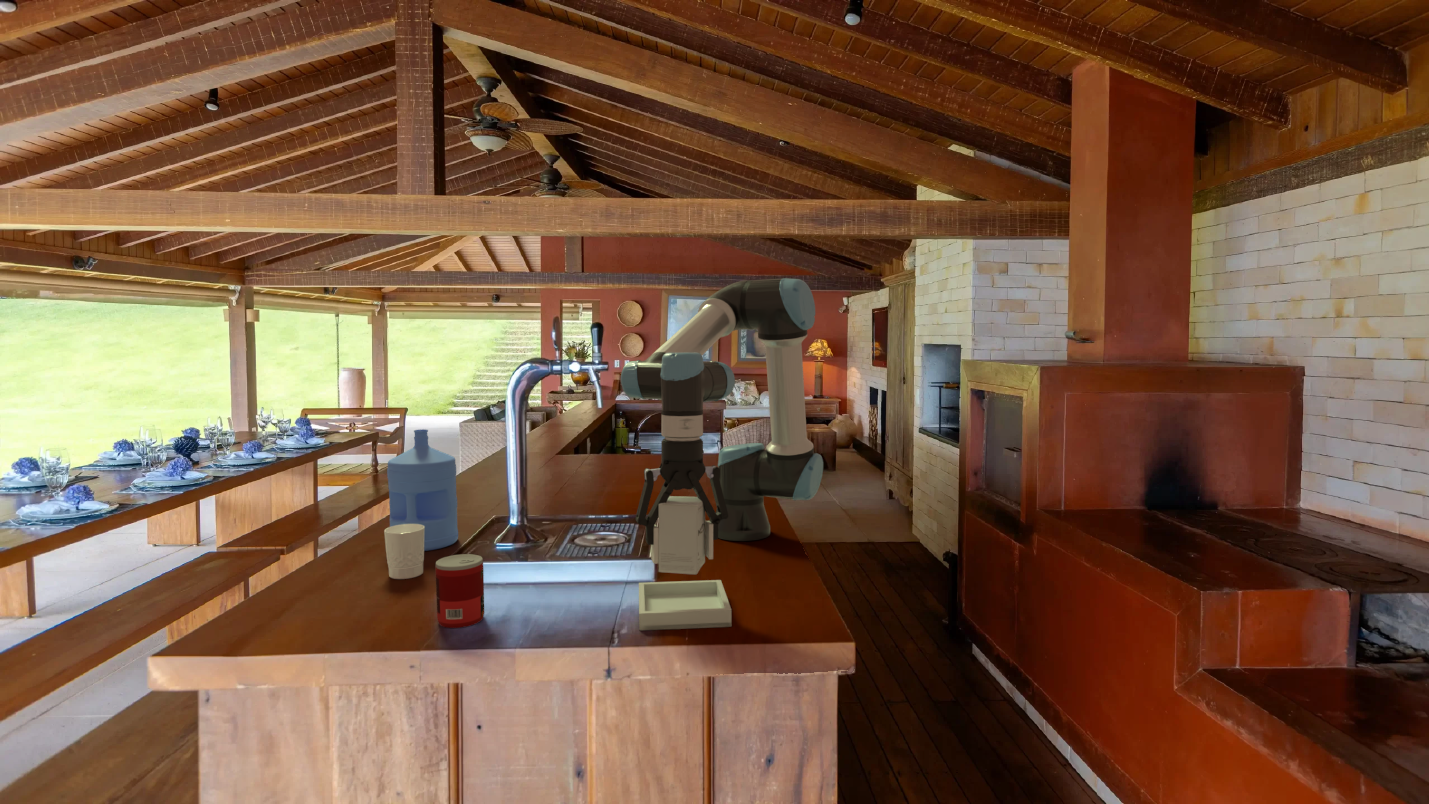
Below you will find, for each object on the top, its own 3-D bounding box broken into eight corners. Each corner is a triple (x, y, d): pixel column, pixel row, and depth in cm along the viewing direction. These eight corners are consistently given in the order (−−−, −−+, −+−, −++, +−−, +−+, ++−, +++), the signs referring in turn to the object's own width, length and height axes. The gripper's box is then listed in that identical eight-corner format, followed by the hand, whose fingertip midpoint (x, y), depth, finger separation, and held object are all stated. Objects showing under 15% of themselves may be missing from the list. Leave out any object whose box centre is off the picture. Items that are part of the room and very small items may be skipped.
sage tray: (638, 597, 142) (638, 582, 141) (720, 594, 143) (720, 579, 143) (639, 630, 126) (639, 613, 125) (731, 626, 127) (731, 609, 127)
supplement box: (697, 575, 129) (697, 505, 128) (657, 572, 131) (656, 503, 130) (706, 562, 137) (706, 496, 135) (668, 560, 138) (667, 494, 137)
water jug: (407, 534, 187) (404, 426, 185) (468, 535, 187) (465, 426, 184) (377, 552, 172) (372, 434, 169) (443, 553, 171) (439, 434, 169)
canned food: (492, 620, 130) (490, 560, 129) (448, 632, 125) (446, 569, 124) (472, 608, 136) (470, 551, 135) (430, 620, 130) (428, 560, 129)
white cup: (390, 582, 150) (389, 535, 149) (382, 573, 156) (380, 527, 156) (430, 575, 155) (429, 529, 154) (420, 566, 161) (419, 521, 160)
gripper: (624, 442, 125) (625, 570, 127) (747, 438, 131) (746, 560, 133) (617, 437, 132) (618, 558, 134) (734, 433, 138) (733, 549, 140)
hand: (682, 559), depth 133 cm, fingers closed on supplement box, 9 cm apart
